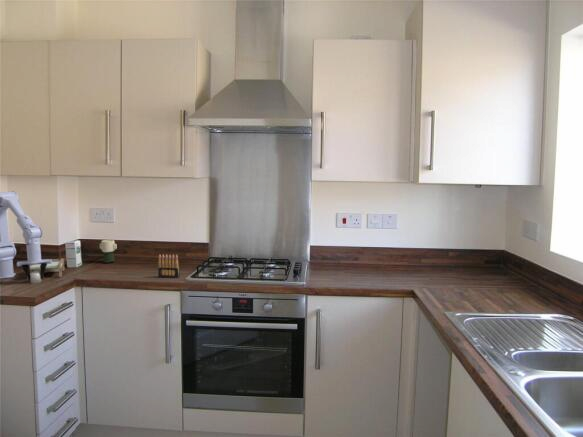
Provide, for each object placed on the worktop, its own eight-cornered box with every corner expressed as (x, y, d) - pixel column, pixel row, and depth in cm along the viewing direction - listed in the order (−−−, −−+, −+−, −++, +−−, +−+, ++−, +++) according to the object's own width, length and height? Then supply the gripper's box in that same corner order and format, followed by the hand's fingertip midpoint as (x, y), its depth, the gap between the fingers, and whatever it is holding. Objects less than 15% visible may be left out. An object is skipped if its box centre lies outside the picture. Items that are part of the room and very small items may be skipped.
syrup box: (77, 267, 241) (75, 241, 239) (66, 267, 241) (65, 241, 240) (82, 265, 247) (80, 240, 245) (72, 265, 247) (70, 240, 245)
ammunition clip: (158, 277, 220) (157, 254, 218) (159, 276, 221) (158, 253, 220) (178, 277, 218) (177, 254, 217) (179, 277, 220) (179, 253, 219)
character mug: (120, 261, 256) (119, 239, 255) (113, 264, 249) (112, 241, 248) (104, 260, 258) (103, 239, 257) (96, 263, 251) (95, 241, 250)
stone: (29, 283, 208) (28, 273, 207) (31, 281, 212) (30, 271, 211) (41, 282, 210) (40, 272, 209) (42, 280, 214) (41, 270, 213)
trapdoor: (34, 264, 227) (34, 260, 227) (60, 262, 232) (60, 258, 232) (30, 269, 215) (30, 265, 215) (57, 267, 220) (57, 263, 220)
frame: (27, 280, 215) (26, 267, 214) (32, 272, 229) (31, 260, 228) (61, 276, 220) (60, 264, 220) (64, 270, 235) (63, 258, 234)
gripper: (14, 254, 203) (17, 282, 204) (49, 252, 208) (51, 279, 210) (17, 251, 209) (19, 279, 211) (51, 249, 215) (53, 276, 216)
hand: (35, 279), depth 211 cm, fingers closed on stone, 5 cm apart
